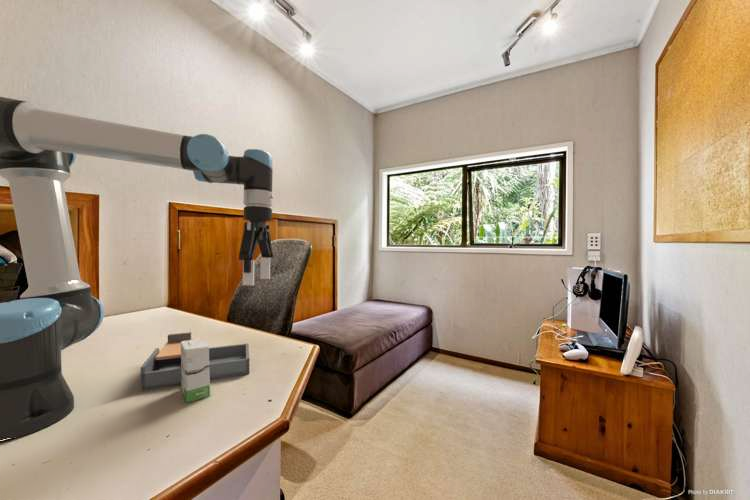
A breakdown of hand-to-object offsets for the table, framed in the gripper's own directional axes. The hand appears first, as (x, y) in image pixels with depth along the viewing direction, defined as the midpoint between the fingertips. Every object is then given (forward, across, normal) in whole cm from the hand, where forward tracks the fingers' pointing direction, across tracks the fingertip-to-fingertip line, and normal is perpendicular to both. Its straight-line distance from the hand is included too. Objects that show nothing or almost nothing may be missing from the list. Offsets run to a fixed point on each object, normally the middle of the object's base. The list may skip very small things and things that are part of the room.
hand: (257, 281), depth 87 cm
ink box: (+25, -15, +9) cm, 30 cm away
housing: (+24, -2, +14) cm, 28 cm away
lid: (+20, +2, +24) cm, 32 cm away
